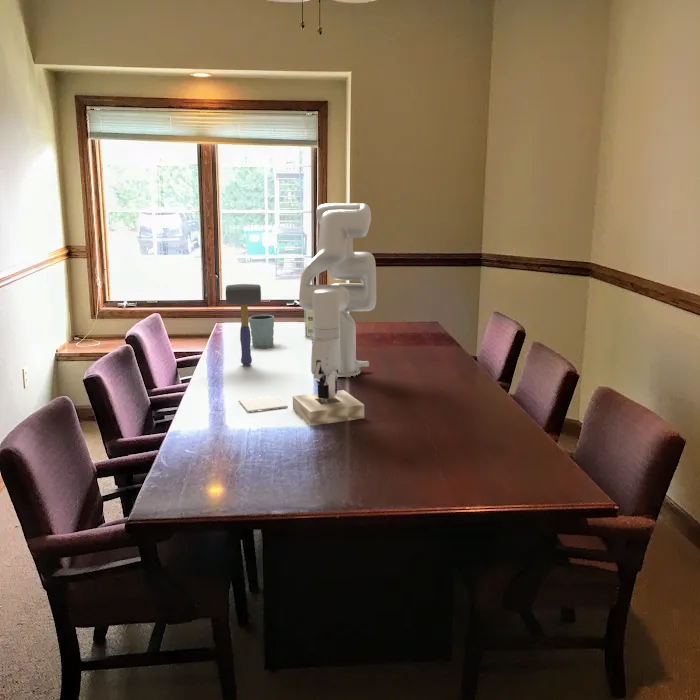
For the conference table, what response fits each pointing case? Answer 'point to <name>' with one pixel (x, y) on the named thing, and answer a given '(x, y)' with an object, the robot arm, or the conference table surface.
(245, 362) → the rubber mallet
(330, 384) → the steel cylinder
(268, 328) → the teal cup
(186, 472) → the conference table surface
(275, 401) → the mat
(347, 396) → the socket block
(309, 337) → the coffee can
